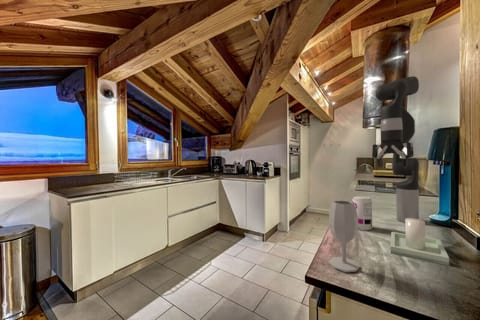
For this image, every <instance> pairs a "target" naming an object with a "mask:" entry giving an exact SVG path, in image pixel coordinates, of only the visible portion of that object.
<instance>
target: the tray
mask: <svg viewBox="0 0 480 320" xmlns="http://www.w3.org/2000/svg"><path fill="white" fill-rule="evenodd" d="M390 254H394V255H397V256H401V257H406V258H411V259H416V260H421V261H426V262H430V263H435V264H439V265H443V266H449V267H450V257H449V255H448V253H447V250H446V249H445V247H444V245H443V243H442V241H441V239H437V238H432V237H427V236H425V250H415V249H411V248H409V247H407V246H406V233H401V232H396V231H391V233H390Z"/></svg>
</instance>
